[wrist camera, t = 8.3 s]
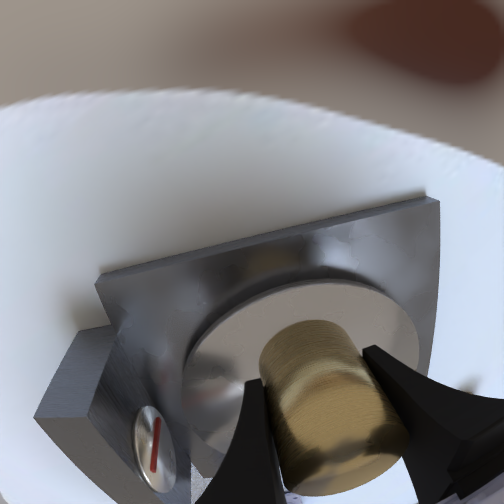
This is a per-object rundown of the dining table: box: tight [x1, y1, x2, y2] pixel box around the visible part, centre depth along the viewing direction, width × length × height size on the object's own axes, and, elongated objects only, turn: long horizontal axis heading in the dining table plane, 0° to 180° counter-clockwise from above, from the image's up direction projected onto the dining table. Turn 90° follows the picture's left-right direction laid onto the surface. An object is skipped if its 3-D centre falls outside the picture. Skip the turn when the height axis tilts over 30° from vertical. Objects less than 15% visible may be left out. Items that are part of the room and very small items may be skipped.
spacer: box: [258, 320, 410, 496], centre depth 11 cm, size 4×4×6 cm
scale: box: [33, 196, 440, 504], centre depth 16 cm, size 18×21×7 cm
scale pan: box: [181, 278, 419, 454], centre depth 17 cm, size 14×14×1 cm
